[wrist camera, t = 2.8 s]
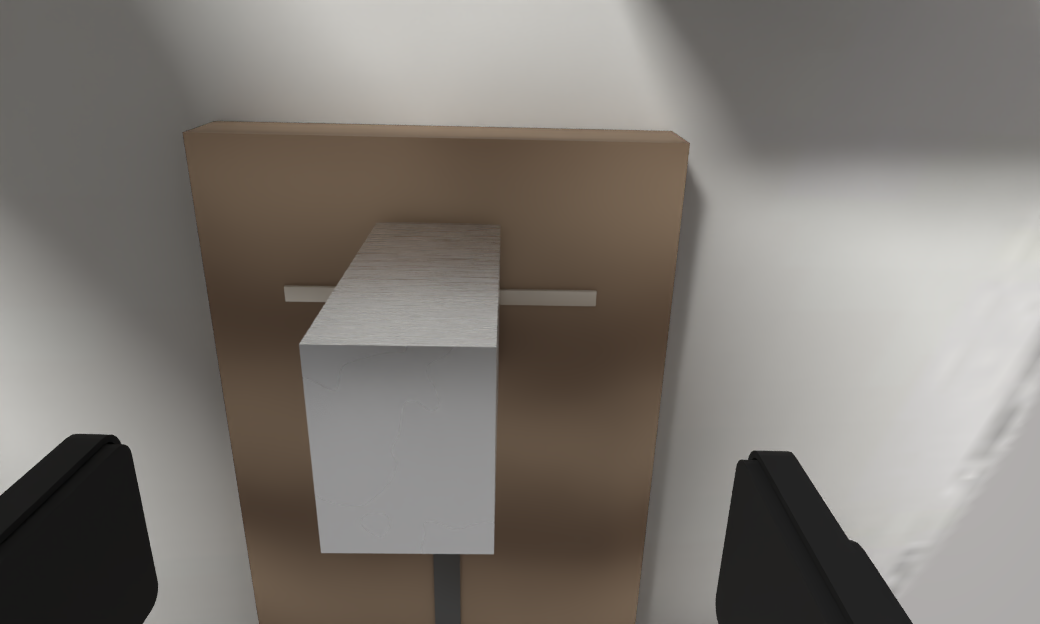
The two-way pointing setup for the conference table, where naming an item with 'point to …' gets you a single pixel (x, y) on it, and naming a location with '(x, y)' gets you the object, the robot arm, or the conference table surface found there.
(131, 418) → the conference table surface
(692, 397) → the conference table surface
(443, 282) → the fader tab
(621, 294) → the fader console
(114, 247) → the conference table surface
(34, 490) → the robot arm
